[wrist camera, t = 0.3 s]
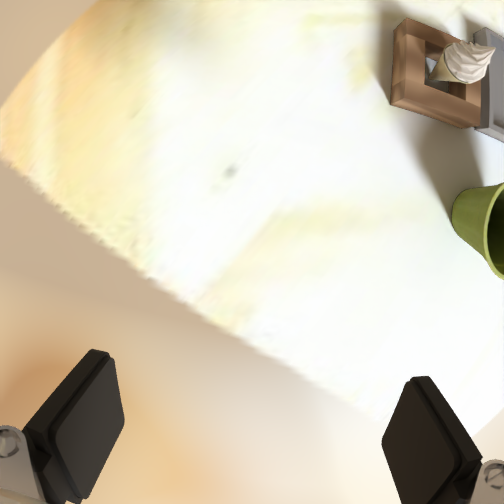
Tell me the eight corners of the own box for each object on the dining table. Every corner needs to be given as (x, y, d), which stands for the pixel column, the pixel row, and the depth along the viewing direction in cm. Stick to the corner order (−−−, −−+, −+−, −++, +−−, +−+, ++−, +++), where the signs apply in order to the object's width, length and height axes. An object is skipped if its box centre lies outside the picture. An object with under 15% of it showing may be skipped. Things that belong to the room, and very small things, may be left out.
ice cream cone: (410, 85, 33) (474, 53, 19) (417, 54, 32) (477, 14, 18) (442, 102, 34) (512, 80, 19) (447, 71, 32) (514, 42, 18)
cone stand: (393, 30, 32) (406, 17, 27) (462, 57, 32) (479, 49, 27) (390, 104, 34) (404, 97, 30) (461, 128, 34) (479, 125, 30)
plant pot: (454, 156, 35) (506, 155, 24) (507, 197, 36) (557, 207, 25) (422, 235, 38) (468, 257, 27) (478, 268, 39) (524, 295, 28)
